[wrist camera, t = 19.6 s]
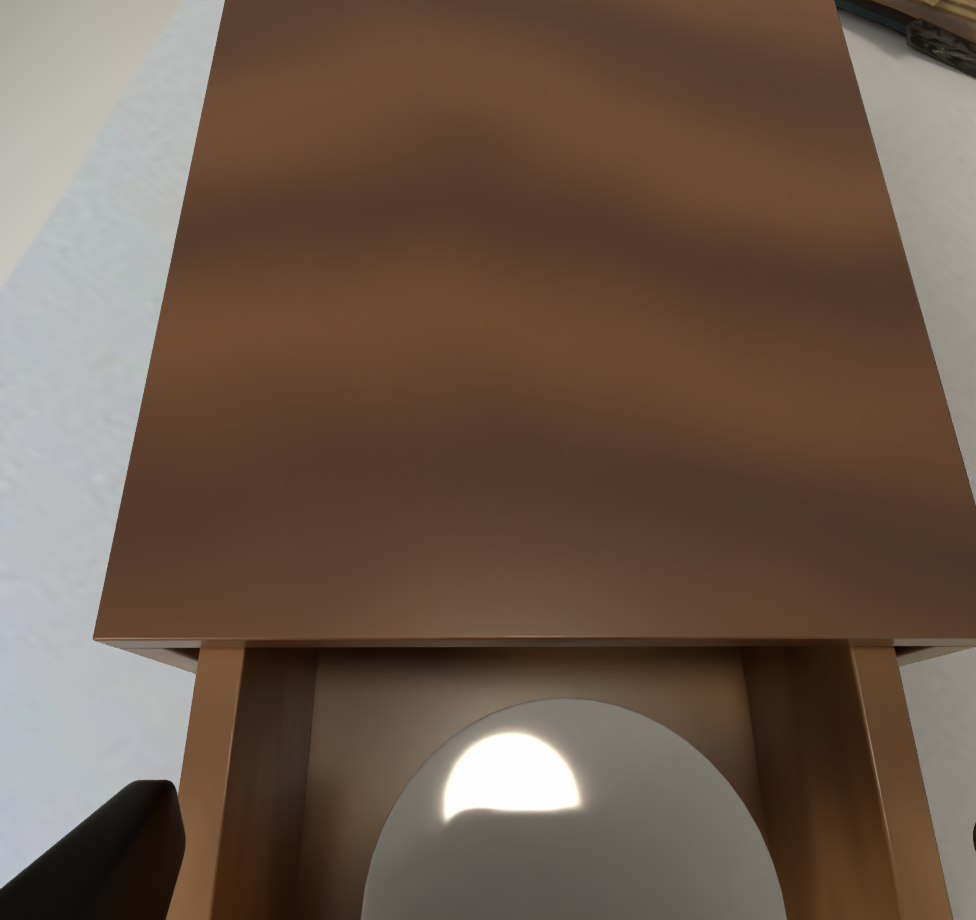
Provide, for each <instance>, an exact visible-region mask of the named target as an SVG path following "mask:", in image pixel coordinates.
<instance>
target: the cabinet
mask: <svg viewBox="0 0 976 920" xmlns="http://www.w3.org/2000/svg"><path fill="white" fill-rule="evenodd" d="M93 640H95V641H97V642H100V643H103V644H106V645H109V646H112V647H115V648H120V649H122V650H125V651H128V652H132V653H135V654H138V655H141V656H144V657H147V658H150V659H153V660H156V661H159V662H162V663H165V664H168V665H171V666H174V667H177V668H180V669H183V670H186V671H189V672H192V673H195V674H196V672H197V666H198V659H199V652H200V648H257V647H691V646H894V648H895V653H896V657H897V662H898V667H899V666H903V665H907V664H910V663H914V662H918V661H922V660H926V659H930V658H934V657H938V656H942V655H946V654H950V653H954V652H958V651H962V650H966V649H970V648H973V647H976V505H975V501H974V498H973V494H972V491H971V487H970V484H969V480H968V476H967V473H966V469H965V466H964V462H963V459H962V455H961V451H960V448H959V444H958V441H957V437H956V434H955V430H954V426H953V423H952V419H951V416H950V412H949V409H948V405H947V401H946V398H945V394H944V391H943V387H942V384H941V380H940V376H939V373H938V369H937V366H936V362H935V359H934V355H933V351H932V348H931V344H930V341H929V337H928V334H927V330H926V326H925V323H924V319H923V316H922V312H921V309H920V305H919V301H918V298H917V294H916V291H915V287H914V284H913V280H912V276H911V273H910V269H909V266H908V262H907V259H906V255H905V251H904V248H903V244H902V241H901V237H900V234H899V230H898V226H897V223H896V219H895V216H894V212H893V209H892V205H891V201H890V198H889V194H888V191H887V187H886V184H885V180H884V176H883V173H882V169H881V166H880V162H879V159H878V155H877V151H876V148H875V144H874V141H873V137H872V134H871V130H870V126H869V123H868V119H867V116H866V112H865V109H864V105H863V101H862V98H861V94H860V91H859V87H858V84H857V80H856V76H855V73H854V69H853V66H852V62H851V59H850V55H849V51H848V48H847V44H846V41H845V37H844V34H843V30H842V26H841V23H840V19H839V16H838V12H837V9H836V5H835V1H834V0H225V3H224V8H223V13H222V17H221V22H220V27H219V32H218V37H217V42H216V46H215V51H214V56H213V61H212V66H211V71H210V75H209V80H208V85H207V90H206V95H205V99H204V104H203V109H202V114H201V119H200V124H199V128H198V133H197V138H196V143H195V148H194V153H193V157H192V162H191V167H190V172H189V177H188V181H187V186H186V191H185V196H184V201H183V206H182V210H181V215H180V220H179V225H178V230H177V235H176V239H175V244H174V249H173V254H172V259H171V263H170V268H169V273H168V278H167V283H166V288H165V292H164V297H163V302H162V307H161V312H160V317H159V321H158V326H157V331H156V336H155V341H154V345H153V350H152V355H151V360H150V365H149V370H148V374H147V379H146V384H145V389H144V394H143V399H142V403H141V408H140V413H139V418H138V423H137V427H136V432H135V437H134V442H133V447H132V452H131V456H130V461H129V466H128V471H127V476H126V481H125V485H124V490H123V495H122V500H121V505H120V509H119V514H118V519H117V524H116V529H115V534H114V538H113V543H112V548H111V553H110V558H109V563H108V567H107V572H106V577H105V582H104V587H103V591H102V596H101V601H100V606H99V611H98V616H97V620H96V625H95V630H94V635H93Z"/></svg>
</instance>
